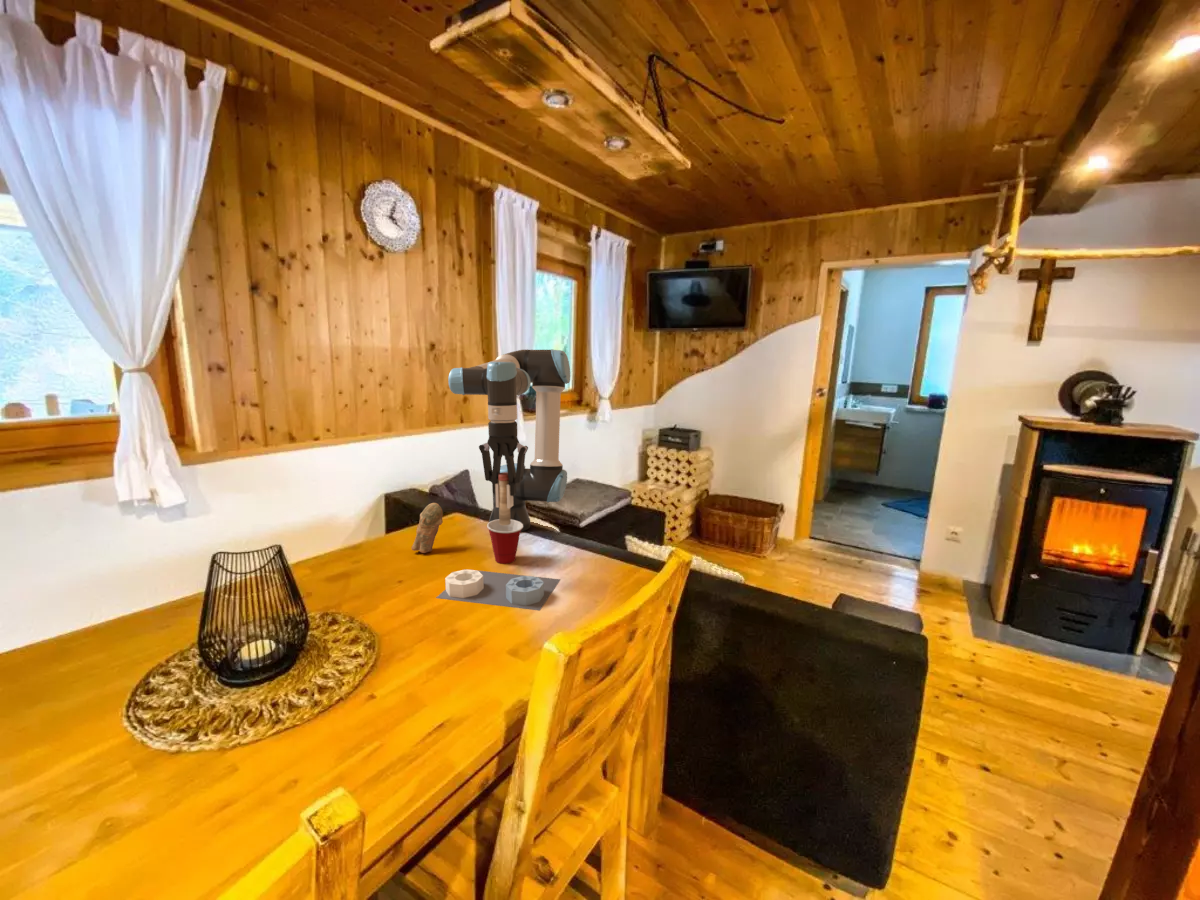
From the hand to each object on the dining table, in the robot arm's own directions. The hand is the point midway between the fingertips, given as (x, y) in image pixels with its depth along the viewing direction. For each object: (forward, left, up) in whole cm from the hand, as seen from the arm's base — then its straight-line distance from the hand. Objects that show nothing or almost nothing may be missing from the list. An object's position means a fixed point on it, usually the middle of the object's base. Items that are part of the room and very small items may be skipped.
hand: (504, 506), depth 136 cm
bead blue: (+9, +9, -21) cm, 24 cm away
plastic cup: (-12, -5, -22) cm, 25 cm away
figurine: (-14, -32, -22) cm, 41 cm away
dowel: (0, 0, -5) cm, 5 cm away
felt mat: (+6, +1, -21) cm, 22 cm away
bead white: (+9, -8, -21) cm, 24 cm away
